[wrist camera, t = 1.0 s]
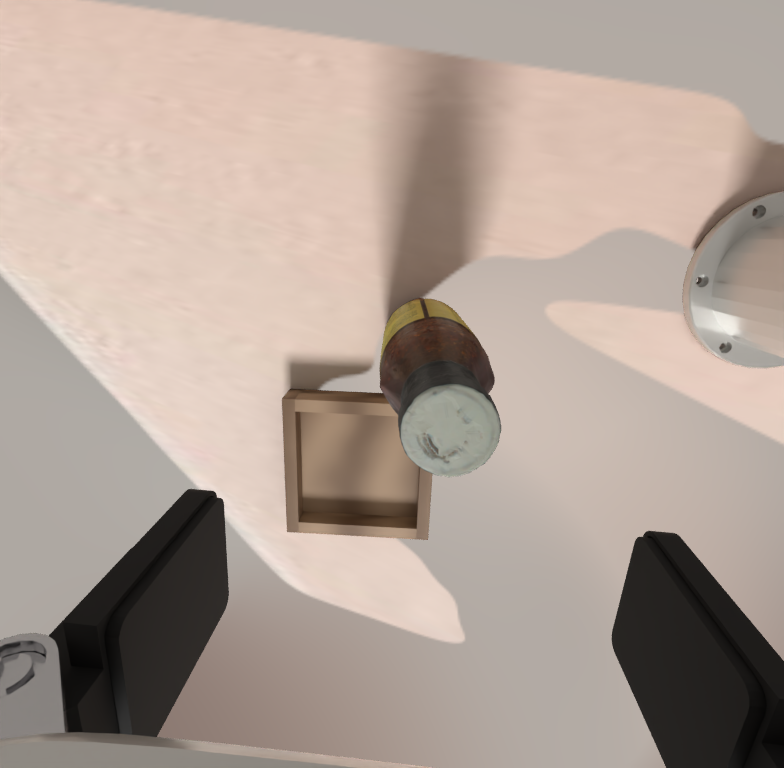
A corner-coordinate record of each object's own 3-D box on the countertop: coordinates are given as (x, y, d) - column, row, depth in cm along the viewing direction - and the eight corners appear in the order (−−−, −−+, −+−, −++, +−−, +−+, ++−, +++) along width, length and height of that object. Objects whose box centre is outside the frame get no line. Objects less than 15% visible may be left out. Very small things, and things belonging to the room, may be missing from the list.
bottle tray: (435, 395, 39) (436, 406, 37) (427, 522, 43) (428, 539, 40) (290, 389, 39) (282, 398, 37) (294, 515, 43) (287, 531, 41)
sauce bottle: (387, 375, 39) (361, 508, 20) (382, 297, 37) (346, 362, 18) (469, 370, 38) (521, 503, 19) (467, 292, 36) (523, 353, 17)
